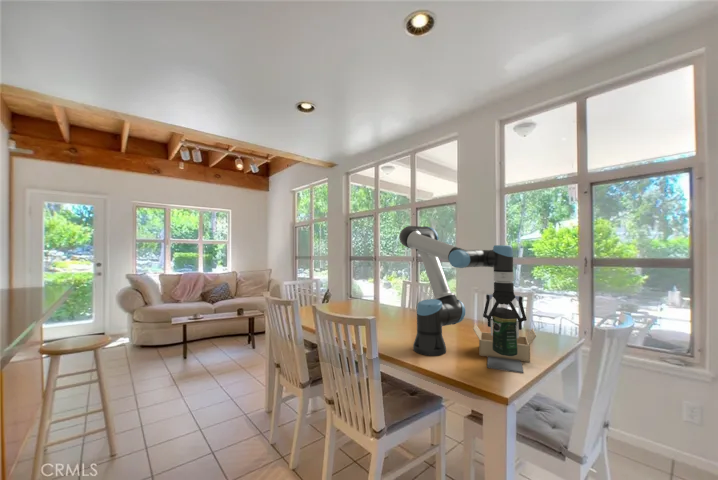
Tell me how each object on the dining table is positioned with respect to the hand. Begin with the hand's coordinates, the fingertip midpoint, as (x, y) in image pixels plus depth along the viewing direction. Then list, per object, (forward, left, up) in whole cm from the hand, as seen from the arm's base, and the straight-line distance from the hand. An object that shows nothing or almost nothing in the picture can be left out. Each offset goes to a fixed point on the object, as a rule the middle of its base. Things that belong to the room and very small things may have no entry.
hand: (504, 336), depth 126 cm
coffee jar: (0, 0, -7) cm, 7 cm away
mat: (0, 0, -12) cm, 12 cm away
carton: (0, +15, -12) cm, 19 cm away
